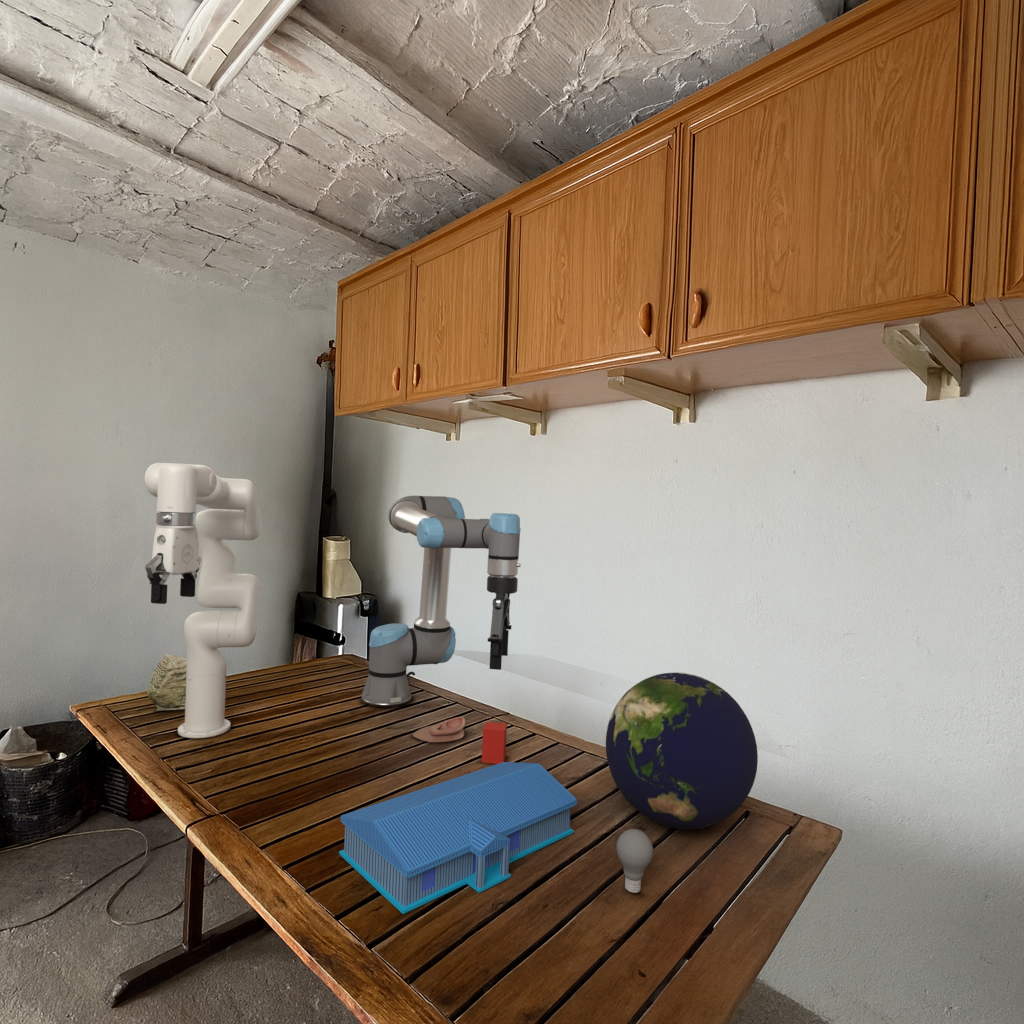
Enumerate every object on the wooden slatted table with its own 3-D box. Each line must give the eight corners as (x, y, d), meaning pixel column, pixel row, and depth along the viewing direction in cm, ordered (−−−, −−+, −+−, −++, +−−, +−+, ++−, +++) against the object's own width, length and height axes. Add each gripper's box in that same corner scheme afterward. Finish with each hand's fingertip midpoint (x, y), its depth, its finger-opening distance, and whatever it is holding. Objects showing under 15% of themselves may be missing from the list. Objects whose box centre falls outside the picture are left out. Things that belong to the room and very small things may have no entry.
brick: (481, 762, 155) (483, 728, 154) (484, 755, 159) (485, 721, 159) (503, 764, 154) (504, 730, 154) (505, 757, 159) (506, 723, 158)
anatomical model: (408, 724, 167) (423, 710, 178) (408, 739, 167) (423, 724, 178) (457, 730, 164) (469, 716, 175) (456, 745, 164) (468, 730, 175)
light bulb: (610, 879, 108) (613, 822, 108) (644, 879, 109) (647, 822, 109) (619, 902, 102) (622, 840, 102) (655, 901, 103) (658, 840, 103)
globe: (585, 837, 122) (592, 682, 121) (619, 777, 149) (625, 650, 149) (751, 879, 110) (760, 708, 110) (755, 805, 138) (762, 668, 138)
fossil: (144, 707, 182) (145, 655, 182) (212, 696, 194) (213, 647, 194) (151, 716, 175) (153, 662, 175) (221, 703, 188) (223, 653, 188)
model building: (414, 925, 95) (417, 859, 95) (337, 852, 113) (340, 797, 113) (586, 839, 121) (589, 787, 121) (502, 791, 139) (504, 746, 139)
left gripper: (166, 522, 127) (163, 607, 128) (215, 520, 145) (212, 595, 145) (132, 521, 128) (129, 605, 129) (184, 518, 145) (182, 593, 146)
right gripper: (512, 583, 143) (508, 676, 143) (522, 571, 168) (518, 651, 168) (479, 581, 144) (475, 674, 144) (494, 569, 168) (490, 649, 169)
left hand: (173, 599), depth 137 cm, fingers open, 9 cm apart
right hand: (498, 662), depth 156 cm, fingers open, 13 cm apart
